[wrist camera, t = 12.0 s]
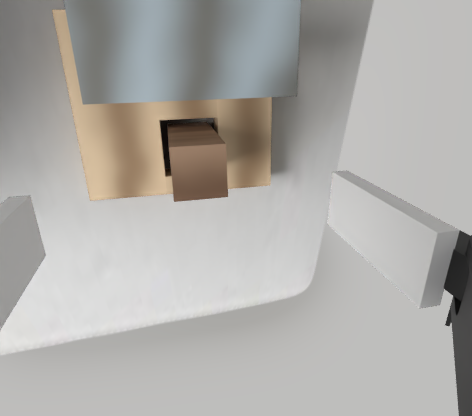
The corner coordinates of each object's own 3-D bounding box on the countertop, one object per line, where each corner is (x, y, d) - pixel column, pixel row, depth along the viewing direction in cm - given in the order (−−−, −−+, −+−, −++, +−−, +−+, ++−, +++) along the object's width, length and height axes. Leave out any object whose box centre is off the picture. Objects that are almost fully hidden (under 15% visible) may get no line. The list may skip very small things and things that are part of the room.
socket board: (95, 190, 35) (63, 245, 24) (62, 15, 29) (-1, -21, 18) (262, 177, 38) (303, 220, 27) (263, 16, 32) (316, -14, 21)
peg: (167, 123, 34) (168, 147, 23) (206, 121, 35) (226, 143, 24) (170, 162, 36) (174, 201, 25) (208, 159, 36) (227, 196, 25)
